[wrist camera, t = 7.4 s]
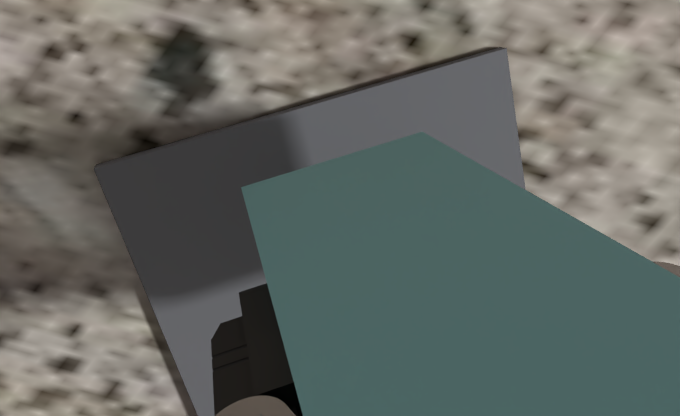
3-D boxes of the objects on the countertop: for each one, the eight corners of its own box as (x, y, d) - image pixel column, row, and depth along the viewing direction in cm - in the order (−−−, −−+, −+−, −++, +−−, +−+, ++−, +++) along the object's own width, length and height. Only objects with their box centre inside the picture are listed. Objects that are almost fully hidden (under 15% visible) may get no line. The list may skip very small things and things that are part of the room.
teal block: (240, 187, 14) (381, 705, 4) (422, 131, 14) (975, 445, 4) (292, 346, 15) (486, 1005, 5) (453, 290, 16) (902, 786, 6)
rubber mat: (96, 164, 16) (93, 168, 16) (499, 47, 18) (506, 48, 17) (278, 599, 23) (279, 609, 23) (560, 488, 24) (566, 495, 24)
